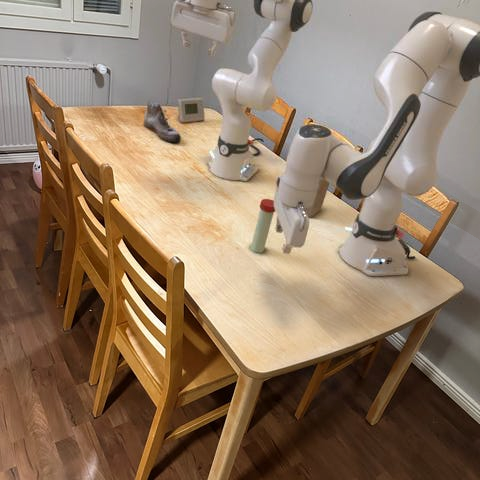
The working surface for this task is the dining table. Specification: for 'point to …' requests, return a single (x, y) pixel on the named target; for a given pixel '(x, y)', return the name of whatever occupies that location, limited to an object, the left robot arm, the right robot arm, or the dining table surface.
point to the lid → (267, 205)
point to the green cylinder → (261, 231)
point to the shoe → (160, 123)
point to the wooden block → (318, 198)
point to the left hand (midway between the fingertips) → (198, 51)
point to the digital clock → (191, 110)
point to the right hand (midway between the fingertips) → (282, 241)
